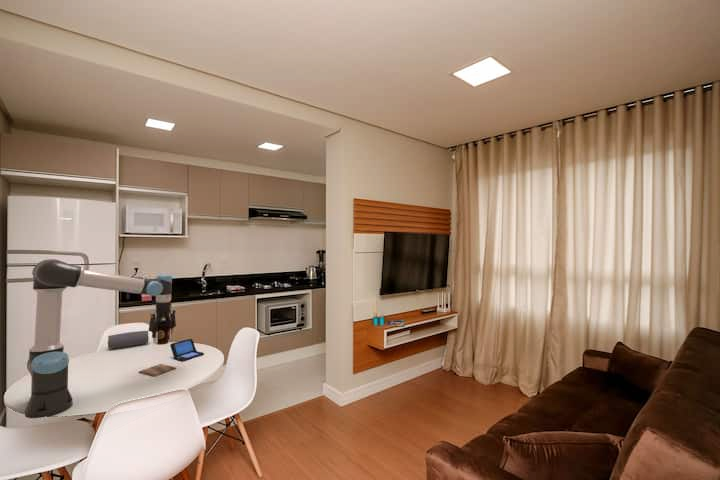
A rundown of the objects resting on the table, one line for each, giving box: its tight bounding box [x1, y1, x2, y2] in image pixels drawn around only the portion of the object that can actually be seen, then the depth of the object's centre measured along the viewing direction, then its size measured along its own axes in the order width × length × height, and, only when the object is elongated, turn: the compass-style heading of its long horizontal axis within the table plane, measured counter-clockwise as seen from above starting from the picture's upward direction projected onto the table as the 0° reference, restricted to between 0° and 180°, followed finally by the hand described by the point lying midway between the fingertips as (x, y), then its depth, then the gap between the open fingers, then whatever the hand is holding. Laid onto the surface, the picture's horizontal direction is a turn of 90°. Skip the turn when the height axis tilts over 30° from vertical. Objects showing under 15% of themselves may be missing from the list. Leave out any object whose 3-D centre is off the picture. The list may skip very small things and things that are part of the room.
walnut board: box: [138, 363, 177, 378], centre depth 189 cm, size 13×13×1 cm
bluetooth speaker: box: [107, 330, 150, 349], centre depth 232 cm, size 23×9×10 cm, turn 130°
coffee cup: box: [156, 319, 172, 346], centre depth 190 cm, size 9×8×13 cm
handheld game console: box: [170, 338, 205, 362], centre depth 213 cm, size 16×13×9 cm
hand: (162, 341), depth 190 cm, fingers closed on coffee cup, 7 cm apart
